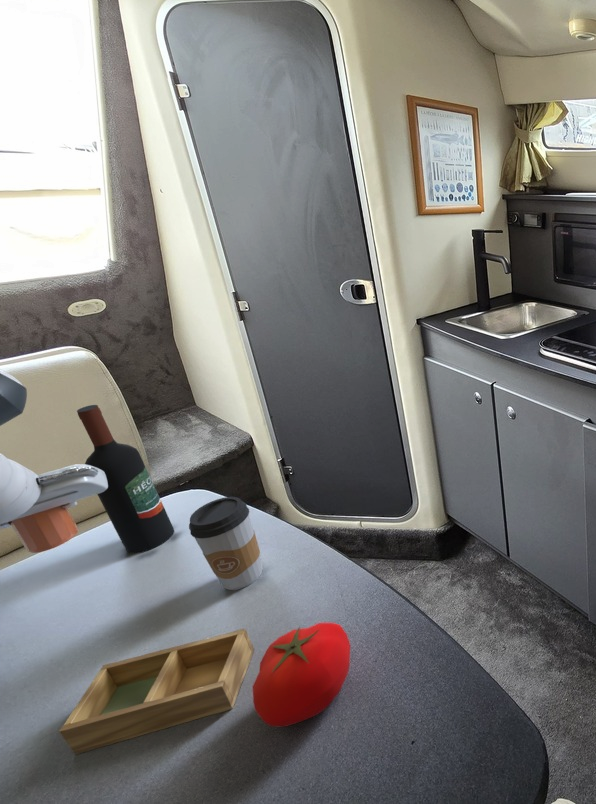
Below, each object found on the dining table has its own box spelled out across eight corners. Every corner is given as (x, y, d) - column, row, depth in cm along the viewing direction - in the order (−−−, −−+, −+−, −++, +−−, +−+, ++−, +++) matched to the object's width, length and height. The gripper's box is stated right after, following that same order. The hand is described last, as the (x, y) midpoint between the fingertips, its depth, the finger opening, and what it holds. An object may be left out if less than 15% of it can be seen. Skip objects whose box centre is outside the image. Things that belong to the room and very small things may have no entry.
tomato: (377, 664, 73) (362, 613, 69) (302, 757, 62) (279, 703, 58) (320, 643, 76) (302, 593, 72) (240, 727, 65) (214, 673, 61)
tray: (232, 708, 68) (221, 686, 66) (74, 755, 63) (58, 732, 61) (254, 649, 76) (245, 628, 74) (116, 686, 71) (103, 664, 69)
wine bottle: (138, 531, 102) (75, 403, 91) (181, 522, 104) (124, 396, 93) (117, 557, 95) (46, 422, 84) (163, 547, 97) (100, 414, 86)
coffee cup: (206, 601, 85) (175, 532, 79) (227, 565, 92) (199, 500, 87) (261, 589, 87) (234, 521, 81) (276, 555, 94) (252, 490, 89)
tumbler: (17, 557, 81) (-14, 508, 78) (44, 531, 87) (16, 485, 83) (63, 547, 83) (35, 499, 79) (87, 523, 89) (62, 477, 85)
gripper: (86, 447, 79) (117, 471, 90) (-118, 502, 68) (-54, 522, 79) (94, 483, 78) (124, 503, 89) (-113, 545, 66) (-49, 560, 77)
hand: (39, 512), depth 84 cm, fingers closed on tumbler, 6 cm apart
